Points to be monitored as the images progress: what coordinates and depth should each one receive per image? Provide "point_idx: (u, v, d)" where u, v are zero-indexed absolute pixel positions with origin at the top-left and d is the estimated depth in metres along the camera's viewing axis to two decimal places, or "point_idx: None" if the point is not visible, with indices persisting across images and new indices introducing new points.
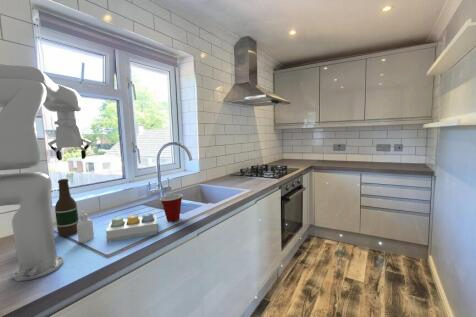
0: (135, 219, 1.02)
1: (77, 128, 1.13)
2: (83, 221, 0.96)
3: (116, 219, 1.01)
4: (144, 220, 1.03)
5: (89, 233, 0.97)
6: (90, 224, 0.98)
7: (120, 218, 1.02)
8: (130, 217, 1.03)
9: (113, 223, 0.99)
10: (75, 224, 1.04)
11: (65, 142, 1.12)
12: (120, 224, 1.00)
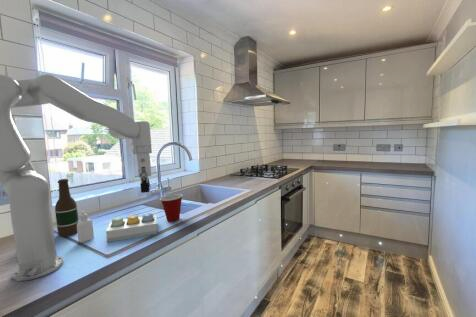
0: (135, 219, 1.02)
1: None
2: (83, 221, 0.96)
3: (116, 219, 1.01)
4: (144, 220, 1.03)
5: (89, 233, 0.97)
6: (90, 224, 0.98)
7: (120, 218, 1.02)
8: (130, 217, 1.03)
9: (113, 223, 0.99)
10: (75, 224, 1.04)
11: None
12: (120, 224, 1.00)
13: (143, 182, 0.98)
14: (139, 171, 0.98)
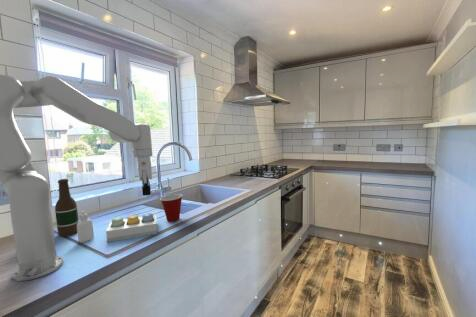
0: (135, 219, 1.02)
1: None
2: (83, 221, 0.96)
3: (116, 219, 1.01)
4: (144, 220, 1.03)
5: (89, 233, 0.97)
6: (90, 224, 0.98)
7: (120, 218, 1.02)
8: (130, 217, 1.03)
9: (113, 223, 0.99)
10: (75, 224, 1.04)
11: None
12: (120, 224, 1.00)
13: (145, 186, 1.02)
14: (140, 179, 0.99)
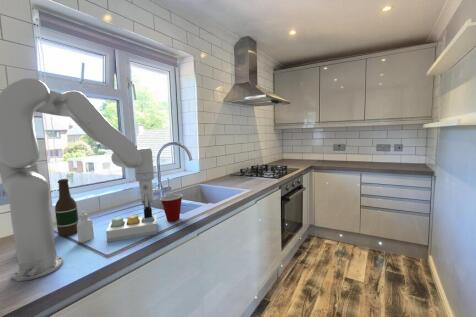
0: (135, 219, 1.02)
1: None
2: (83, 221, 0.96)
3: (116, 219, 1.01)
4: (144, 222, 1.04)
5: (89, 233, 0.97)
6: (90, 224, 0.98)
7: (120, 218, 1.02)
8: (130, 217, 1.03)
9: (113, 223, 0.99)
10: (75, 224, 1.04)
11: None
12: (120, 224, 1.00)
13: None
14: (142, 202, 1.00)
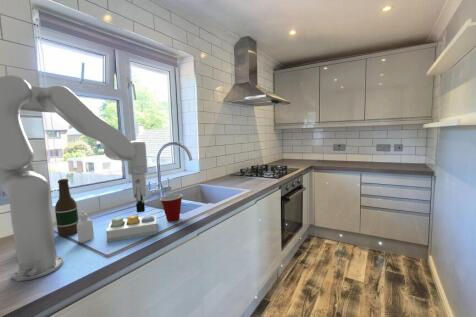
0: (135, 219, 1.02)
1: None
2: (83, 221, 0.96)
3: (116, 219, 1.01)
4: None
5: (89, 233, 0.97)
6: (90, 224, 0.98)
7: (120, 218, 1.02)
8: (130, 217, 1.03)
9: (113, 223, 0.99)
10: (75, 224, 1.04)
11: (146, 190, 1.03)
12: (120, 224, 1.00)
13: None
14: (134, 196, 0.99)
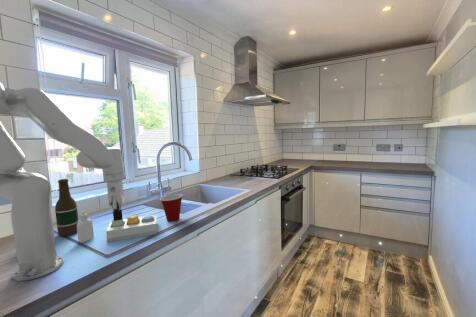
0: (135, 219, 1.02)
1: None
2: (83, 221, 0.96)
3: (116, 220, 1.01)
4: None
5: (89, 233, 0.97)
6: (90, 224, 0.98)
7: None
8: (130, 217, 1.03)
9: (113, 224, 0.99)
10: (75, 224, 1.04)
11: (122, 197, 1.00)
12: (120, 225, 1.00)
13: None
14: (110, 204, 0.96)
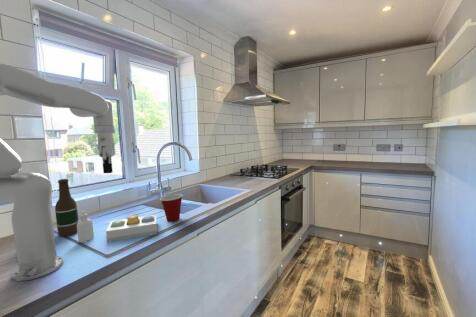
0: (135, 219, 1.02)
1: None
2: (83, 221, 0.96)
3: (116, 222, 1.01)
4: None
5: (89, 233, 0.97)
6: (90, 224, 0.98)
7: (120, 221, 1.02)
8: (130, 217, 1.03)
9: (113, 226, 0.99)
10: (75, 224, 1.04)
11: (113, 150, 1.02)
12: None
13: (105, 164, 1.01)
14: (100, 155, 0.98)
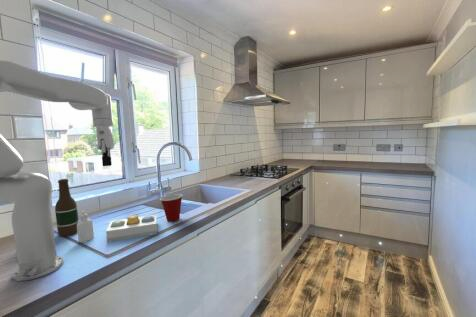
0: (135, 219, 1.02)
1: None
2: (83, 221, 0.96)
3: (116, 222, 1.01)
4: None
5: (89, 233, 0.97)
6: (90, 224, 0.98)
7: (120, 221, 1.02)
8: (130, 217, 1.03)
9: (113, 226, 0.99)
10: (75, 224, 1.04)
11: (112, 143, 1.03)
12: None
13: (104, 157, 1.02)
14: (99, 148, 0.99)
